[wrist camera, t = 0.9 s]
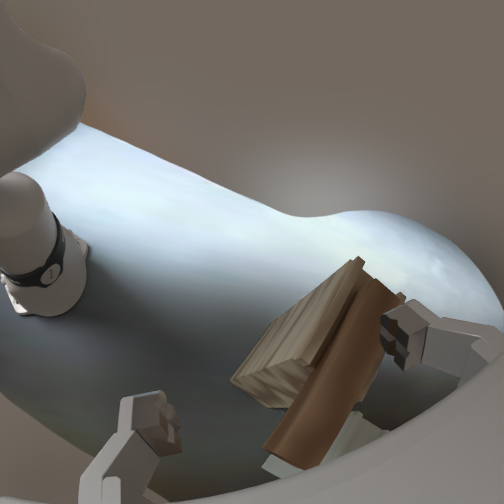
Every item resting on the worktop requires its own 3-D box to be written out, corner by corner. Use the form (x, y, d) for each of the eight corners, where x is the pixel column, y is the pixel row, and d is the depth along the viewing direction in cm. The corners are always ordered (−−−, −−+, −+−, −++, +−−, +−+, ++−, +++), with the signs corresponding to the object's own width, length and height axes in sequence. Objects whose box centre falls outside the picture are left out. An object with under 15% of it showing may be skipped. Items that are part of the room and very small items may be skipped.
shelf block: (228, 380, 47) (297, 355, 24) (271, 323, 54) (356, 254, 31) (266, 407, 46) (364, 403, 23) (305, 349, 53) (407, 298, 30)
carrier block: (261, 467, 41) (308, 492, 26) (299, 412, 47) (358, 410, 32) (293, 484, 40) (349, 509, 25) (328, 430, 47) (392, 432, 32)
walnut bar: (261, 447, 21) (277, 453, 18) (355, 291, 30) (375, 278, 27) (294, 466, 20) (313, 473, 17) (379, 311, 30) (400, 299, 27)
